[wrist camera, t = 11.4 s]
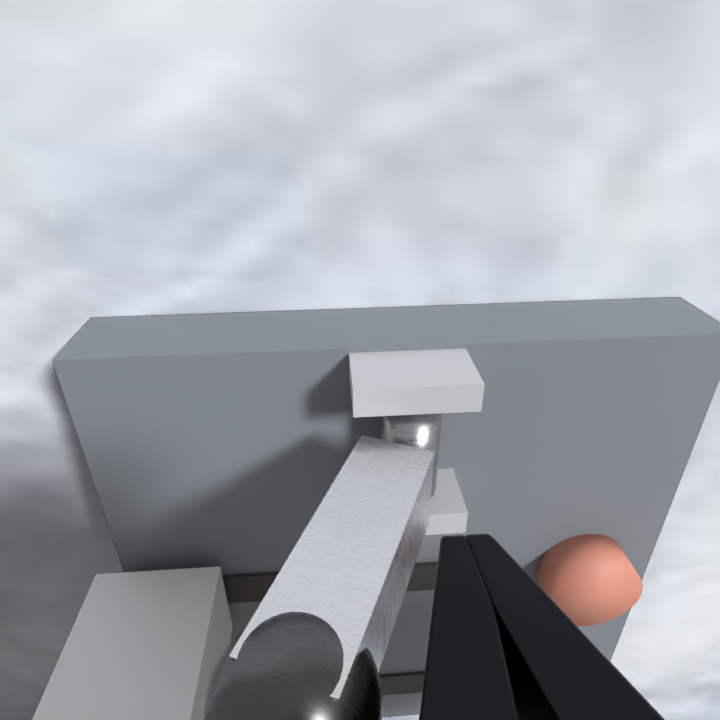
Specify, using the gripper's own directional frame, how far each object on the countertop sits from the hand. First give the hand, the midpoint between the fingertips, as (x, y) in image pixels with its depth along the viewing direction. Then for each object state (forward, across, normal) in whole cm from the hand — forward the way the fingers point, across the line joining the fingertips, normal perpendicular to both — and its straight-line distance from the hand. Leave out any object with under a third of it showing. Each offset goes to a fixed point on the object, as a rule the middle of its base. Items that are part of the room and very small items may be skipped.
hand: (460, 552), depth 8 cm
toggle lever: (+3, 0, 0) cm, 3 cm away
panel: (+6, 0, +5) cm, 8 cm away
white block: (+3, +6, +5) cm, 9 cm away
